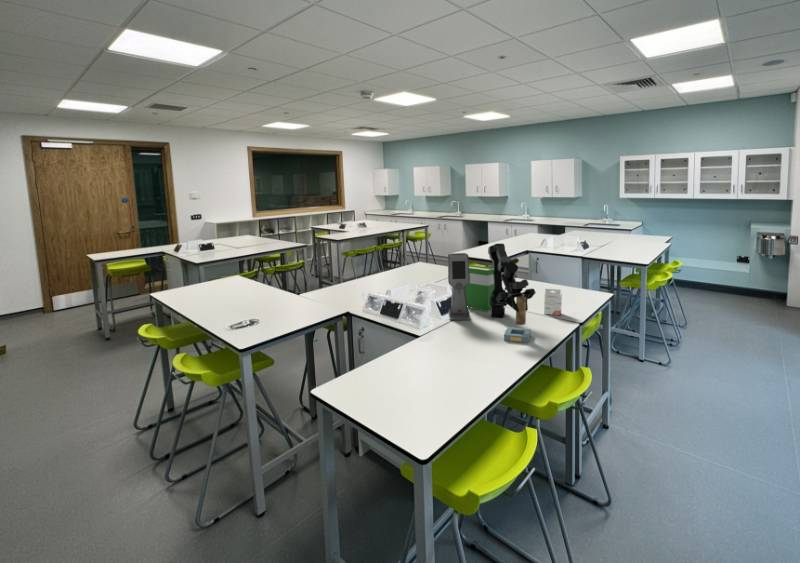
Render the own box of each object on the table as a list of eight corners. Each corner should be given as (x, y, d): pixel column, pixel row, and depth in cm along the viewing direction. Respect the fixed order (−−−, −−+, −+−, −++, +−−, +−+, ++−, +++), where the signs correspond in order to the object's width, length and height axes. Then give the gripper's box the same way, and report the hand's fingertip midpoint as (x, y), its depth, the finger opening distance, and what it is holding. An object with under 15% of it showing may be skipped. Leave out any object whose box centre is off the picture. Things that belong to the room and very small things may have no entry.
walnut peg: (515, 324, 204) (515, 298, 201) (516, 321, 208) (517, 295, 205) (524, 325, 202) (525, 298, 199) (525, 322, 206) (526, 296, 203)
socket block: (503, 340, 203) (503, 334, 203) (507, 332, 213) (507, 327, 213) (527, 343, 199) (528, 337, 198) (530, 335, 209) (530, 329, 208)
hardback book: (462, 306, 261) (462, 267, 256) (469, 303, 266) (469, 265, 261) (487, 311, 249) (488, 270, 244) (494, 308, 254) (495, 268, 249)
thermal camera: (467, 313, 247) (467, 252, 239) (471, 320, 235) (471, 256, 227) (447, 313, 247) (446, 253, 239) (449, 320, 235) (448, 257, 227)
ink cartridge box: (561, 313, 240) (562, 287, 237) (560, 316, 236) (561, 289, 232) (545, 311, 244) (546, 286, 241) (543, 314, 240) (544, 288, 236)
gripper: (499, 276, 201) (512, 304, 193) (534, 272, 206) (547, 300, 198) (490, 288, 210) (502, 316, 202) (524, 284, 215) (536, 311, 208)
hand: (522, 311), depth 202 cm, fingers closed on walnut peg, 4 cm apart
